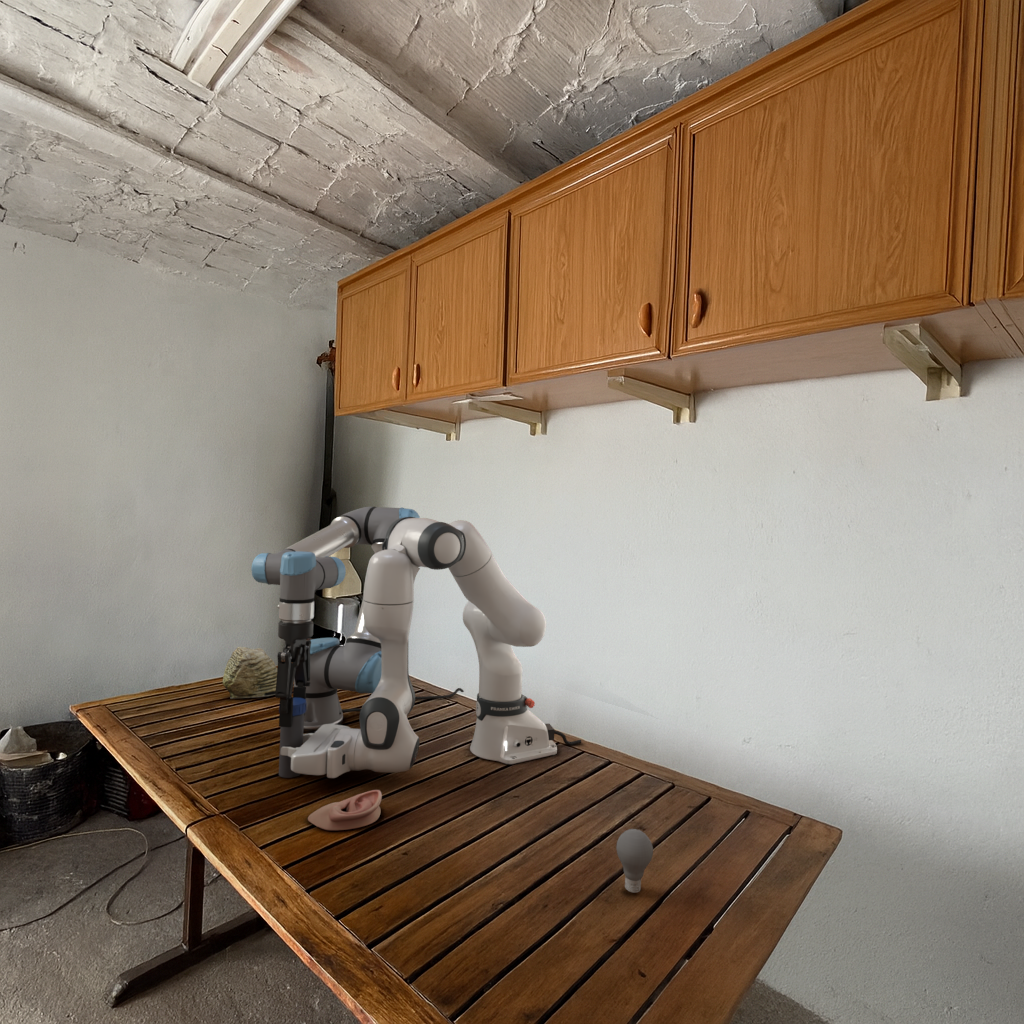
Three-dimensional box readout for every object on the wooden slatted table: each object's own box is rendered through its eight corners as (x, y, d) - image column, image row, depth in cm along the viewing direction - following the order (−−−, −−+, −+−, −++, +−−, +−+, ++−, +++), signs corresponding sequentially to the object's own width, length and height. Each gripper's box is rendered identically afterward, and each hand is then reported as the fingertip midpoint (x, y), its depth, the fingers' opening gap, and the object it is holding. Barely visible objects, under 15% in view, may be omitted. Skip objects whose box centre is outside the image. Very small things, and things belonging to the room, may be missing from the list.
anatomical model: (300, 805, 121) (329, 780, 132) (299, 826, 121) (328, 798, 133) (364, 815, 119) (388, 788, 130) (363, 836, 119) (387, 807, 130)
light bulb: (610, 879, 108) (613, 822, 108) (644, 879, 109) (647, 822, 109) (619, 902, 102) (622, 840, 102) (655, 901, 103) (658, 840, 103)
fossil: (218, 695, 195) (220, 647, 195) (278, 685, 208) (279, 640, 207) (228, 703, 189) (230, 653, 188) (289, 692, 201) (290, 645, 201)
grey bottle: (303, 775, 143) (306, 705, 143) (280, 779, 141) (283, 708, 141) (299, 767, 148) (302, 698, 147) (276, 770, 145) (279, 701, 145)
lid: (308, 714, 143) (309, 703, 143) (281, 717, 140) (281, 706, 140) (303, 706, 148) (303, 696, 148) (276, 709, 145) (277, 699, 145)
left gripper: (296, 611, 154) (293, 705, 154) (260, 627, 134) (256, 735, 134) (327, 613, 153) (323, 707, 154) (295, 629, 134) (291, 737, 134)
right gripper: (361, 719, 154) (305, 715, 155) (332, 752, 133) (268, 747, 134) (360, 745, 154) (304, 741, 155) (331, 782, 133) (267, 777, 134)
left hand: (292, 720), depth 144 cm, fingers open, 7 cm apart
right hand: (287, 744), depth 144 cm, fingers closed on grey bottle, 5 cm apart
